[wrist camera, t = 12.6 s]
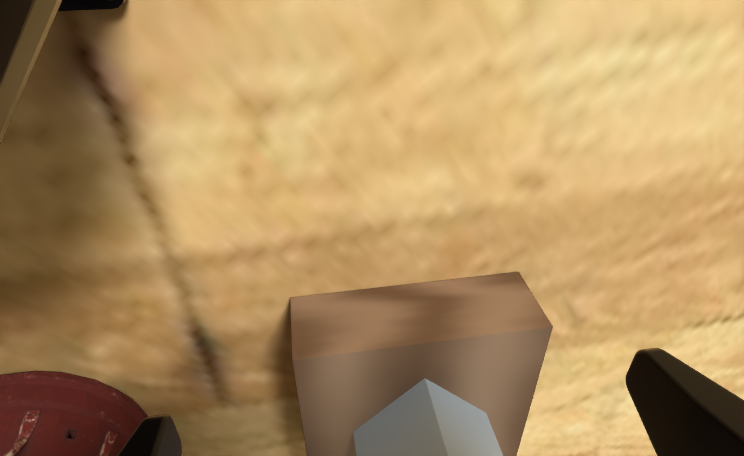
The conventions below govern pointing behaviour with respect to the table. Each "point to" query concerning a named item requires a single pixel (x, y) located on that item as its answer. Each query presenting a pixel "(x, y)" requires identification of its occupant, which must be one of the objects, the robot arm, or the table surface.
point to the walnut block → (416, 353)
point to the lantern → (63, 416)
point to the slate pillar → (427, 427)
